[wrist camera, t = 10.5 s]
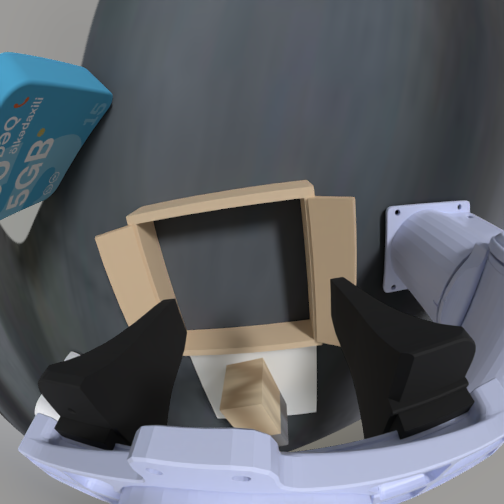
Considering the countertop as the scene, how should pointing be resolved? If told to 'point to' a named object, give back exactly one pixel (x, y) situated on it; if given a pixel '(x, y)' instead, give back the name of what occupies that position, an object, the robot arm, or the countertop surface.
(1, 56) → the data package
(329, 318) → the carton
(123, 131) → the countertop surface
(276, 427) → the capped block
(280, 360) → the mat
